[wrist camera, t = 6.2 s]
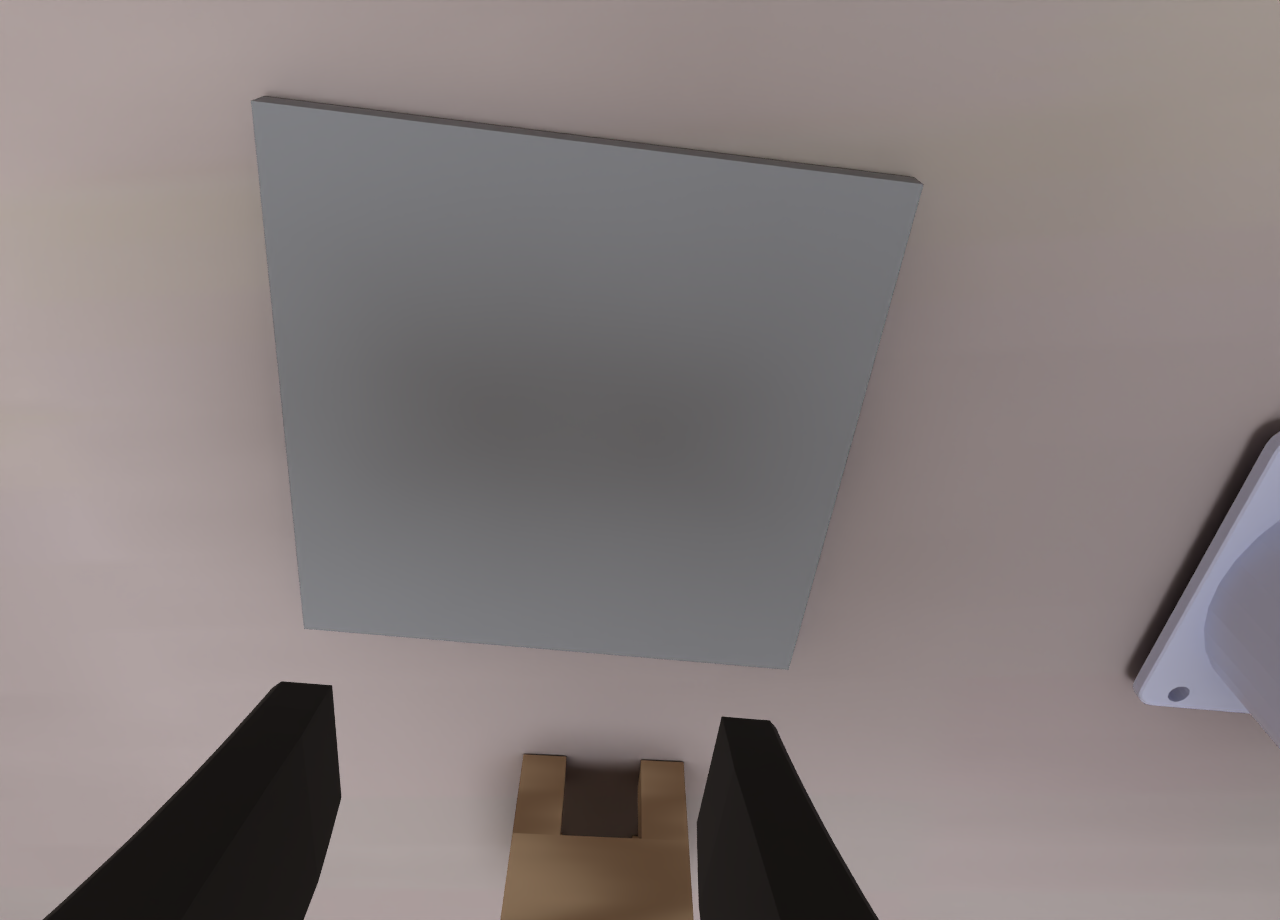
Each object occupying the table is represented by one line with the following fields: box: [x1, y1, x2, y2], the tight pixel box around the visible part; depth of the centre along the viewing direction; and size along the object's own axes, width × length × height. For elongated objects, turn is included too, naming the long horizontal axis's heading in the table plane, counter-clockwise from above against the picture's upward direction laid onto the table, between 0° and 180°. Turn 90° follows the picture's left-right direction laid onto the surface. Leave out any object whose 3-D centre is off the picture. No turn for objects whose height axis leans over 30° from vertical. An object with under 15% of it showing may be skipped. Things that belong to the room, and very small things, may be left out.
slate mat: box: [251, 96, 923, 670], centre depth 18 cm, size 12×12×1 cm
